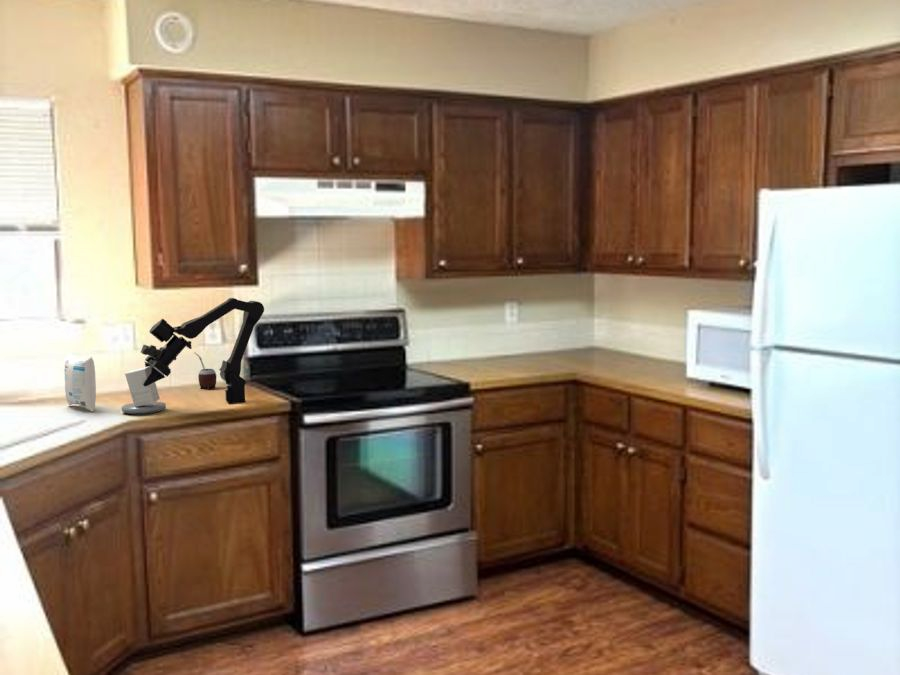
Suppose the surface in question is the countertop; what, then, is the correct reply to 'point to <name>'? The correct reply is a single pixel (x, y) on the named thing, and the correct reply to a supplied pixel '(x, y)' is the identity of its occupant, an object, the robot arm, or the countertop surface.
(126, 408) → the dish
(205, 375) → the mate gourd
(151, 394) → the supplement box
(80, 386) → the pouch
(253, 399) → the countertop surface
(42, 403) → the countertop surface
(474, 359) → the countertop surface
